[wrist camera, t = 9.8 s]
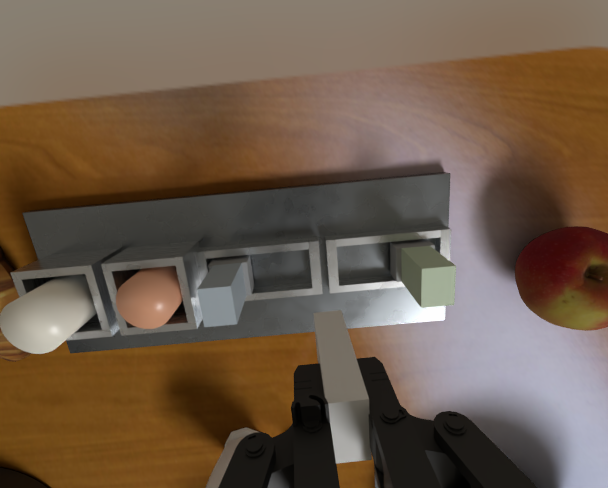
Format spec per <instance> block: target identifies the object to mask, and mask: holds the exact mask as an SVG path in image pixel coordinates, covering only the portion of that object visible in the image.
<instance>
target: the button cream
mask: <svg viewBox="0 0 608 488" xmlns="http://www.w3.org/2000/svg"><path fill="white" fill-rule="evenodd" d="M96 314H97V311H96V308H95V305H94V301H93V298H92V295H91V292H90V288H89V285H88V282H87V278H86V276H84V275H81V274H78V275H67V276H57V277H55V278H54V279H52V280H50V281H48V282H46V283H45V284H43V285H41V286H39V287H37V288H36V289H34V290H32V291H30V292H28V293H27V294H25V295H23V296H21V297H20V298H18V299H16V300H14V301H12V302H11V303H9V304H7V305H6V306H5V307H4V308H3V310H2V312H1V314H0V328H1V331H2V333H3V334H4V336H5V337H6V339H7V340H8V341H9V342H10V343H11V344H13V345H14V346H15V347H17V348H19V349H21V350H23V351H25V352H29V353H34V354H43V353H48V352H50V351H53V350H54V349H56V348H57V347H58V346H59V345H60V344H62V343H63V342H64V341H65V340H66V339H67V338H69V337H70V336H71V335H72V334H73V333H74V332H76V331H77V330H78V329H79V328H80V327H82V326H83V325H84V324H85V323H86V322H87V321H89V320H90V319H91V318H92V317H93V316H94V315H96Z"/></svg>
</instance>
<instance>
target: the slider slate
mask: <svg viewBox="0 0 608 488" xmlns="http://www.w3.org/2000/svg"><path fill="white" fill-rule="evenodd" d="M208 267H209V272H208V274H207V275H206V277H205V278H204V280H203V281H202V283H201V284H200V286H199V287H198V288H197V292H198V297H199V302H200V307H201V312H202V317H203V322H204V327H213V326H224V325H235V324H237V323H238V320H239V317H240V314H241V311H242V308H243V305H244V302H245V299H246V296H248V295H252V292H253V289H254V280H253V273H252V266H251V259H250V255H242V256H231V257H220V258H213V260H212V261H211V263H210V264H209V265H208Z"/></svg>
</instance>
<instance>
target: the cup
mask: <svg viewBox="0 0 608 488" xmlns="http://www.w3.org/2000/svg"><path fill="white" fill-rule="evenodd" d="M256 432H258V431H255V430H252V429H250V428H247V427H246V428H242V429H239V430H236V431H233V432H231V433H230V435H229V437H228V439H227V441H226V443H225V446H224V447H225V448H224V450H223V452H222V454H221V456H220V458H219V459H218V461H217V463H216V465H215V467H214V469H213V471H212V473H211V475H210V478H209V480H208V483H207V485H206V488H218V487H219V485H220V483H221V480H222V478H223V476H224V474H225V471H226V469H227V467H228V465H229V462H230V460H231V458H232V456H233V453H234V451H235V449H236V447H237V445H238V443H239V442H240V441H241V440H242V439H243V438H244V437H245V436H247V435H249V434H252V433H256Z"/></svg>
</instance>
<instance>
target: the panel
mask: <svg viewBox="0 0 608 488" xmlns="http://www.w3.org/2000/svg"><path fill="white" fill-rule="evenodd" d="M449 196H450V173H446V172H443V173H432V174H421V175H410V176H400V177H389V178H378V179H367V180H356V181H346V182H335V183H324V184H313V185H302V186H292V187H281V188H270V189H259V190H248V191H238V192H227V193H216V194H205V195H194V196H184V197H173V198H162V199H151V200H140V201H130V202H119V203H108V204H97V205H86V206H76V207H65V208H54V209H43V210H32V211H28V212H24V213H23V216H24V219H25V222H26V225H27V228H28V231H29V234H30V237H31V240H32V242H33V245H34V248H35V251H36V254H37V257H38V260H37V261H35V262H33V263H30V264H28V265H26V266H24V267H21V268H19V269H17V270H15V271H13V272H10V273H11V276H12V279H13V281H14V284H15V287H16V289H17V292H18V295H19V297H21V296H23V295H25V294H27V293H28V292H30V291H32V290H34V289H36V288H37V287H39V286H41V285H43V284H45V283H46V282H48V281H50V280H52V279H54V278H55V277H57V276H67V275H78V274H81V275H84V276H86V278H87V282H88V285H89V288H90V292H91V295H92V298H93V301H94V305H95V308H96V311H97V314H96V315H94V316H93V317H92V318H91V319H90V320H89V321H87V322H86V323H85V324H84V325H83V326H82V327H80V328H79V329H78V330H77V331H76V332H74V333H73V334H72V335H71V336H70V337H69V338H67V339H66V340H65V341H66V342H67V344H68V347H69V350H70V353H79V352H90V351H101V350H113V349H124V348H135V347H146V346H158V345H169V344H180V343H191V342H203V341H214V340H225V339H236V338H247V337H259V336H270V335H281V334H292V333H304V332H315V324H314V313H317V312H327V311H337V310H341V311H342V314H343V317H344V321H345V324H346V327H347V329H348V328H360V327H371V326H382V325H393V324H405V323H416V322H427V321H438V320H445V306H437V307H426V308H421V307H420V306H419V304H418V303H417V302H416V300H415V299H414V298H413V296H412V295H411V294H410V292H409V291H408V290H407V288H406V287H405V286H404V284H403V283H402V282H396V281H395V279H394V278H393V276H392V275H391V274H390V242H396V241H407V240H418V239H427V240H429V241H430V242H431V243H433V244H434V245H435V250H436V251H437V252H439V253H440V254H441V255H443V256H444V257H445V258H446V259H448V260H449V261H450V245H451V229H450V228H448V222H449ZM242 255H250V259H251V266H252V273H253V280H254V289H253V292H252V295H248V296H246V299H245V302H244V305H243V308H242V311H241V314H240V317H239V320H238V323H237V324H235V325H224V326H213V327H204V322H203V317H202V312H201V307H200V302H199V297H198V292H197V288H198V287H199V286H200V284H201V283H202V281H203V280H204V278H205V277H206V275H207V274H208V272H209V267H208V265H209V264H210V263H211V261H212V260H213V258H220V257H231V256H242ZM166 266H176V270H177V275H178V280H179V284H180V289H181V294H182V298H183V301H182V302H181V304H180V305H179V307H178V308H177V309H176V311H175V312H174V314H173V315H172V316H171V318H170V319H169V320H168V321H167V322H166V323H165V324H164V325H162V326H160V327H158V328H154V329H143V328H139V327H136V326H133V325H132V324H130V323H128V322H127V321H126V320H125V319H124V318H123V317H122V316H121V315H120V313H119V311H118V309H117V306H116V294H117V292H118V290H119V288H120V287H121V285H122V284H124V283H125V282H126V281H127V280H129V279H130V278H131V277H132V276H133V275H135V274H136V273H137V272H138V271H140V270H141V269H144V268H155V267H166Z"/></svg>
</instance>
